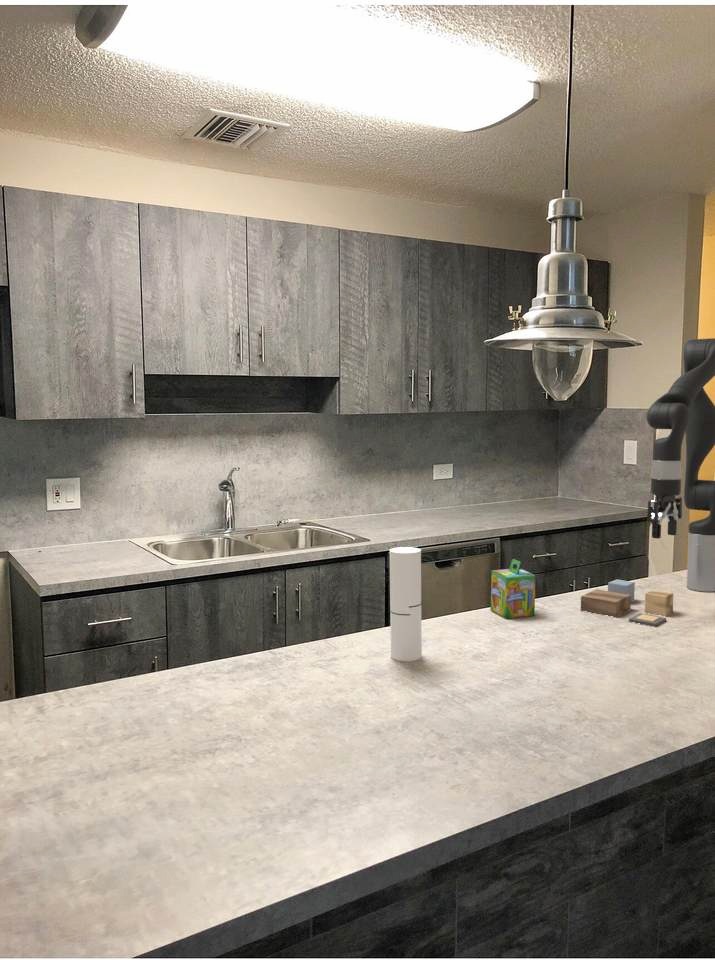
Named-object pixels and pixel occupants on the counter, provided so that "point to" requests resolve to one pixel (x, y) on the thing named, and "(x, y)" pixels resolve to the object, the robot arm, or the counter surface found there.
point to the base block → (606, 602)
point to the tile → (647, 619)
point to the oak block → (659, 602)
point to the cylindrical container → (405, 603)
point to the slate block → (622, 587)
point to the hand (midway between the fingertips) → (664, 536)
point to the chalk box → (513, 592)
